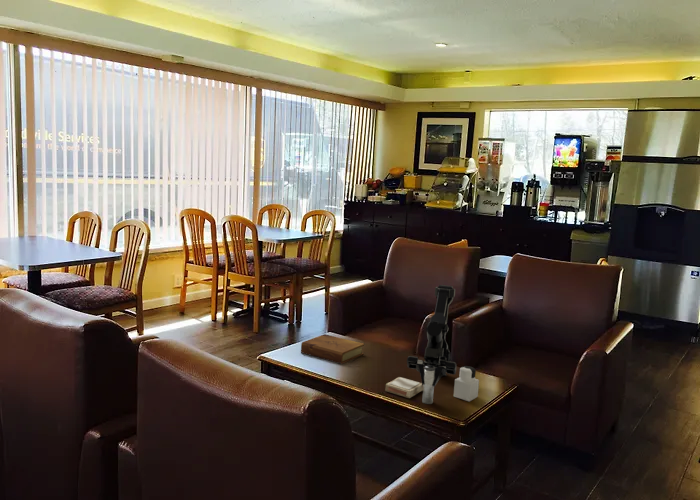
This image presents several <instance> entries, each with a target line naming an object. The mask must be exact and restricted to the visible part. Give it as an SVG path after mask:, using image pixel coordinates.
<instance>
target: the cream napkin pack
mask: <svg viewBox="0 0 700 500" xmlns="http://www.w3.org/2000/svg"><path fill="white" fill-rule="evenodd" d="M384 392H388V393H391V394H394V395H397V396H401V397H404V398H407V399H411V398H412V397H414V396H416V395H417V394H419V393H420V392H423V385H422V382H419V381H415V380H412V379H408V378H405V377H401V376H398V377H396V378H395V379H393V380H391V381H390V382H387V383H386V384H385V390H384Z"/></svg>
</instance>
